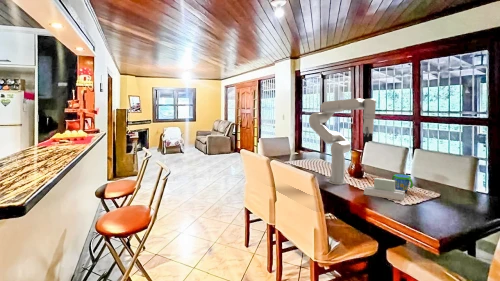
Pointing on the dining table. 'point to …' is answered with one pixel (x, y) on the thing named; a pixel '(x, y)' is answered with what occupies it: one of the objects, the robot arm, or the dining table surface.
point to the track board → (384, 193)
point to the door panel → (384, 184)
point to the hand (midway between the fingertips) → (368, 141)
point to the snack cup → (402, 182)
